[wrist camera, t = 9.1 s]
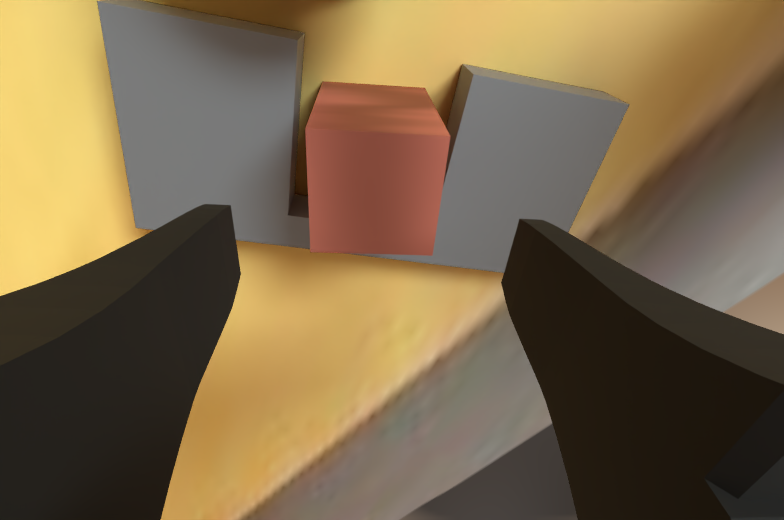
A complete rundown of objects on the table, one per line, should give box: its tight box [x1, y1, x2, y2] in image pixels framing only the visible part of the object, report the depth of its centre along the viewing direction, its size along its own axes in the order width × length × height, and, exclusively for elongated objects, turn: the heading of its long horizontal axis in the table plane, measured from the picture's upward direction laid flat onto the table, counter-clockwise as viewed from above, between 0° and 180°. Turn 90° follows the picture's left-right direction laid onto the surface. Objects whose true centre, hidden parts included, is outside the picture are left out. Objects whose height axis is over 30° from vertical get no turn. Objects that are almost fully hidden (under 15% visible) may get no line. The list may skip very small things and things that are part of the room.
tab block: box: [305, 82, 450, 256], centre depth 15 cm, size 4×4×6 cm
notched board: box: [97, 0, 629, 273], centre depth 17 cm, size 18×8×2 cm, turn 79°
